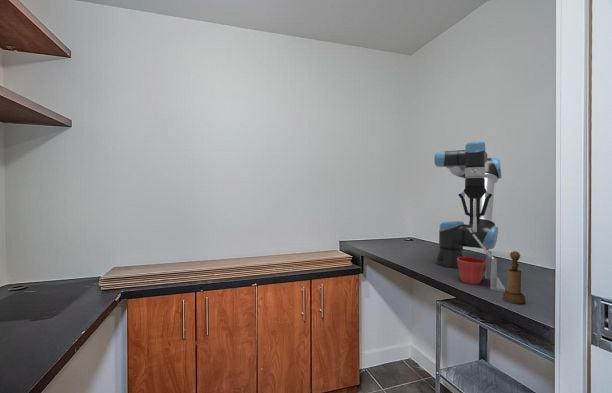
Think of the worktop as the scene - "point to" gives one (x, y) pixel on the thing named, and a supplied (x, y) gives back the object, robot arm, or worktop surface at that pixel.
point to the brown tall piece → (514, 282)
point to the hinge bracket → (493, 274)
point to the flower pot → (470, 269)
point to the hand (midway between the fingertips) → (474, 231)
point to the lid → (481, 244)
